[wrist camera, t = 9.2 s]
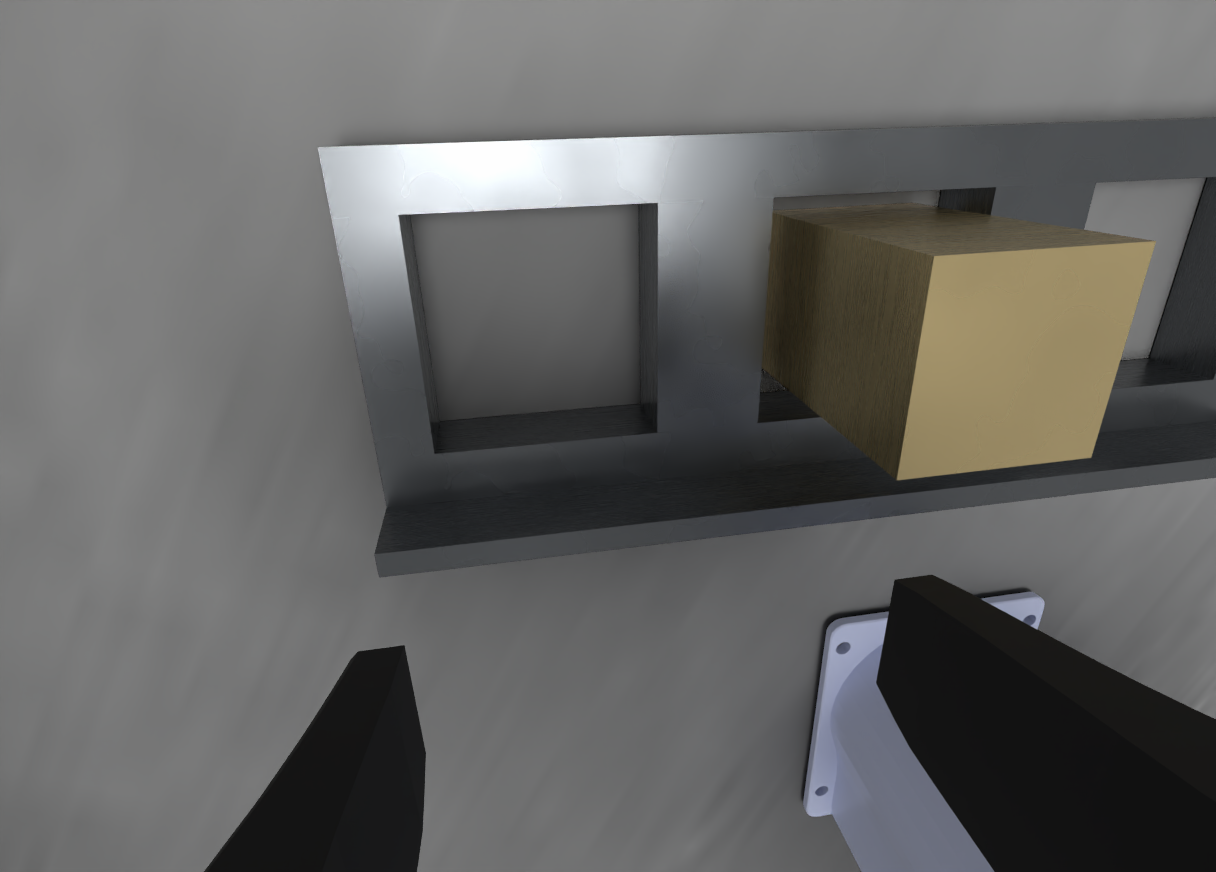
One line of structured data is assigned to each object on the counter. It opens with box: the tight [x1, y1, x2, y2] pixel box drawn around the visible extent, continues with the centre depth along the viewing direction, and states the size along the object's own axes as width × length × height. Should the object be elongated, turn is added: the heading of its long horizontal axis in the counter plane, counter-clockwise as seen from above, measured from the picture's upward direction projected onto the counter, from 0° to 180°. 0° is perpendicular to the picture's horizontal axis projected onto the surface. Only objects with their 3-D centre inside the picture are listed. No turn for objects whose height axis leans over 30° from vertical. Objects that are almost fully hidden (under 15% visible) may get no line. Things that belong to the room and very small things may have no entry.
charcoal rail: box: [318, 118, 1216, 577], centre depth 16 cm, size 9×24×4 cm, turn 91°
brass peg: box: [762, 203, 1156, 480], centre depth 15 cm, size 4×4×7 cm
